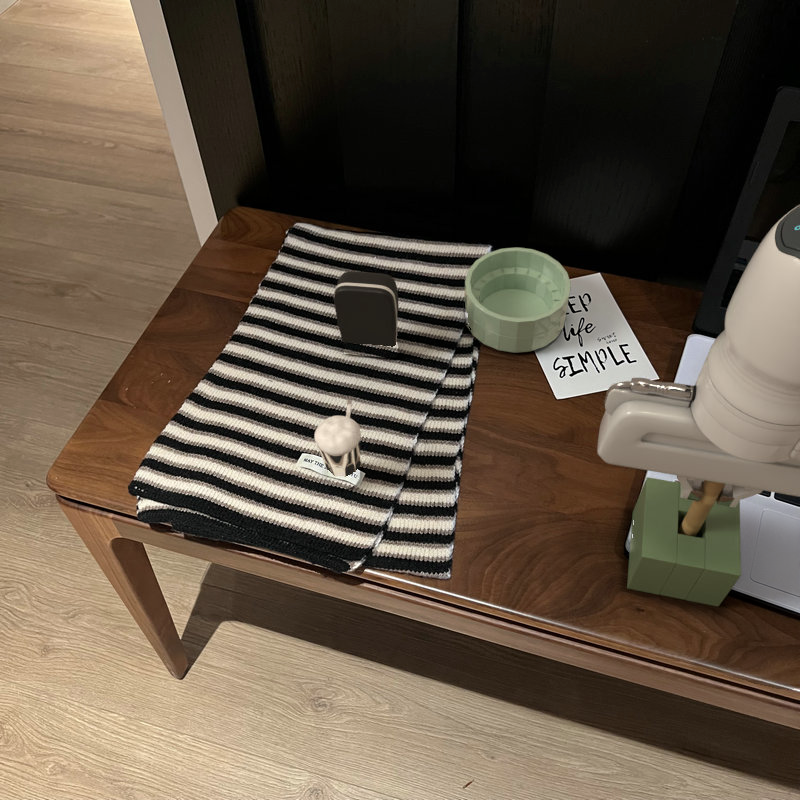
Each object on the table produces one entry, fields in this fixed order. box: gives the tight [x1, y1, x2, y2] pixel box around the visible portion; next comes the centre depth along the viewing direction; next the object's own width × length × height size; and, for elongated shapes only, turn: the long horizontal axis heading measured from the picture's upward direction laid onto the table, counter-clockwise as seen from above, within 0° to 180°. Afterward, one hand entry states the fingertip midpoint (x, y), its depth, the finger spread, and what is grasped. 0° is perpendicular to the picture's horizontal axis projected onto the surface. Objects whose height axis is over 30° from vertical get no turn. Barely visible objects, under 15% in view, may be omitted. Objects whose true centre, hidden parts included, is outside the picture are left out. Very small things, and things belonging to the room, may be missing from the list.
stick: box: [678, 480, 725, 537], centre depth 70 cm, size 2×2×16 cm
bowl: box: [463, 247, 572, 354], centre depth 93 cm, size 12×12×6 cm
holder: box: [626, 476, 742, 607], centre depth 73 cm, size 8×8×7 cm
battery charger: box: [333, 270, 399, 347], centre depth 90 cm, size 7×4×11 cm, turn 81°
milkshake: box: [314, 399, 362, 477], centre depth 79 cm, size 5×5×10 cm
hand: (707, 496), depth 66 cm, fingers closed on stick, 1 cm apart
